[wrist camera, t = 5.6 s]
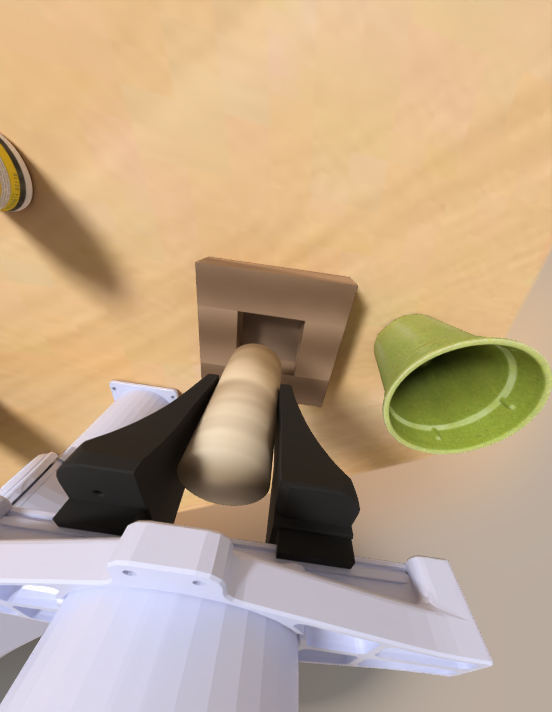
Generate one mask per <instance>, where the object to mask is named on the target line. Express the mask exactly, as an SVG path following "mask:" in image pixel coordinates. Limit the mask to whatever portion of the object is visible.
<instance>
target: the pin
mask: <svg viewBox="0 0 552 712" xmlns="http://www.w3.org/2000/svg"><path fill="white" fill-rule="evenodd" d="M281 370H282V366H281V361H280V359H279V357H278V356H277V354H276V353H275V352H274V351H273V350H271V349H270V348H268V347H266V346H264V345H261V344H253V343H252V344H245V345H242V346H240V347H239V348H237V349H236V350H235V351H234V352H233V353H232V355H231V357H230V359H229V361H228V363H227V365H226V367H225V369H224V371H223V373H222V376H221V378H220V380H219V382H218V384H217V386H216V388H215V390H214V392H213V394H212V396H211V398H210V400H209V402H208V404H207V407H206V409H205V411H204V413H203V415H202V417H201V419H200V421H199V423H198V425H197V427H196V429H195V431H194V433H193V435H192V438H191V440H190V442H189V444H188V446H187V448H186V450H185V452H184V454H183V456H182V458H181V460H180V462H179V464H178V467H177V475H178V478H179V480H180V482H181V483H182V485H183V486H184V487H185V488H186V489H187V490H189V491H190V492H191V493H193V494H194V495H196V496H198V497H200V498H202V499H204V500H207V501H209V502H213V503H217V504H221V505H230V506H238V505H247V504H251V503H254V502H257V501H258V500H260V499H262V498H263V497H264V496H265V495H266V494H267V493H268V491H269V488H270V481H271V471H272V461H273V451H274V440H275V430H276V420H277V410H278V398H279V390H280V380H281Z"/></svg>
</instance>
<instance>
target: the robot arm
mask: <svg viewBox="0 0 552 712" xmlns="http://www.w3.org/2000/svg"><path fill="white" fill-rule="evenodd" d="M218 382H219V375H216V374H208V375H206V376H205V377H204V378H203V379H201V380H200V381H199V382H198V383H196V384H195V385H194V386H193V387H191V388H190V389H189V390H188V391H186V392H185V393H184V394H182V395H181V396H179V395H178V391H177V390H175V389H170V388H163V387H156V386H149V385H143V384H136V383H129V382H122V381H115V380H113V381H111V382H110V383H109V385H110V388H111V391H112V394H113V397H114V400H115V402H114V403H113V404H112V405H111V406H110V407H109V408H108V409H107V410H106V411H105V412H104V413H103V414H102V415H101V416H100V417H99V418H98V419H97V420H96V421H95V422H94V423H93V424H92V425H91V426H90V427H89V428H88V429H87V430H86V431H85V432H84V433H83V434H82V435H81V436H80V437H79V438H78V439H77V440H76V441H75V442H74V443H73V444H72V445H71V446H70V447H69V448H68V449H67V450H65V451H64V452H63V453H61V454H60V455H59V456H58V455H57V454H56V453H54V452H49V453H48V454H41V455H38V456H37V457H35V458H34V459H33V460H32V461H31V462H30V463H28V464H27V465H26V466H25V467H24V468H23V469H21V470H20V471H19V472H18V473H17V474H16V475H15V476H14V477H12V478H11V479H10V480H9V481H8V482H7V483H6V484H5V485H3V486H2V487H1V488H0V658H1V657H2V656H4V655H5V654H7V653H9V652H11V651H12V650H14V649H16V648H18V647H20V646H22V645H24V644H26V643H28V642H30V641H32V640H34V639H36V638H38V637H40V636H42V635H43V636H42V637H41V639H40V640H39V642H38V644H37V645H36V647H35V649H34V650H33V652H32V654H31V655H30V657H29V659H28V660H27V662H26V663H25V665H24V667H23V668H22V670H21V672H20V673H19V675H18V676H17V678H16V680H15V681H14V683H13V685H12V686H11V688H10V689H9V691H8V693H7V694H6V696H5V698H4V699H3V701H2V703H1V704H0V712H298V662H307V663H319V664H331V665H332V664H333V665H344V666H356V667H368V668H380V669H391V670H401V671H410V672H420V673H427V674H435V675H442V676H449V677H452V676H456V675H460V674H464V673H467V672H471V671H475V670H479V669H483V668H486V667H490V666H493V660H492V658H491V656H490V654H489V651H488V649H487V647H486V645H485V642H484V640H483V638H482V636H481V633H480V631H479V629H478V627H477V624H476V622H475V620H474V618H473V616H472V613H471V611H470V609H469V607H468V604H467V602H466V600H465V598H464V595H463V593H462V591H461V589H460V586H459V584H458V582H457V580H456V577H455V575H454V573H453V571H452V568H451V566H450V564H449V562H448V561H447V560H446V559H440V558H433V557H427V556H412V557H410V558H409V559H408V560H407V561H406V563H399V562H392V561H385V560H378V559H370V558H364V557H357V556H354V552H353V546H352V541H351V539H353V532H352V524H353V522H354V521H355V519H356V517H357V516H358V514H359V511H360V507H359V501H358V497H357V494H356V491H355V488H354V486H353V483H352V481H351V479H350V478H349V477H348V476H347V475H346V474H345V473H344V472H343V471H342V470H341V469H340V468H339V467H338V466H337V465H336V464H335V463H334V462H333V460H332V459H331V458H330V457H329V456H328V454H327V453H326V452H325V451H324V449H323V448H322V447H321V445H320V444H319V443H318V441H317V440H316V438H315V437H314V435H313V434H312V432H311V430H310V429H309V427H308V425H307V423H306V421H305V420H304V418H303V416H302V413H301V411H300V409H299V407H298V404H297V402H296V399H295V396H294V392H293V388H292V386H291V385H287V384H280V390H279V398H278V410H277V420H276V430H275V440H274V469H273V479H272V489H271V498H270V508H269V516H268V526H267V534H266V543H261V542H254V541H247V540H240V539H233V538H229V537H227V536H225V535H224V534H222V533H221V532H217V531H214V530H210V529H204V528H197V527H190V526H183V525H176V524H174V521H175V518H176V514H177V511H178V508H179V505H180V502H181V498H182V495H183V492H184V489H185V487H184V486H183V485H182V483H181V482H180V480H179V478H178V475H177V467H178V464H179V462H180V460H181V458H182V456H183V454H184V452H185V450H186V448H187V446H188V444H189V442H190V440H191V438H192V435H193V433H194V431H195V429H196V427H197V425H198V423H199V421H200V419H201V417H202V415H203V413H204V411H205V409H206V407H207V404H208V402H209V400H210V398H211V396H212V394H213V392H214V390H215V388H216V386H217V384H218ZM57 456H58V457H57Z"/></svg>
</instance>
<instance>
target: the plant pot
mask: <svg viewBox="0 0 552 712" xmlns="http://www.w3.org/2000/svg"><path fill="white" fill-rule="evenodd" d="M374 353H375V357H376V361H377V365H378V368H379V371H380V375H381V379H382V382H383V386H384V390H385V394H384V401H383V418H384V422H385V425H386V427H387V429H388V431H389V432H390V434H391V435H392V436H393V437H394V438H395V439H396V440H397V441H398V442H400V443H401V444H403V445H405V446H407V447H409V448H411V449H414V450H417V451H421V452H425V453H431V454H456V453H462V452H469V451H473V450H476V449H480V448H484V447H486V446H489V445H492V444H495V443H497V442H499V441H502V440H503V439H505V438H507V437H509V436H511V435H513V434H514V433H516V432H517V431H519V430H520V429H521V428H523V427H524V426H526V425H527V424H528V423H529V422H530V421H532V420H533V419H534V417H535V416H536V415H538V413H539V412H540V411H541V410H542V408H543V407H544V405H545V403H546V401H547V400H548V397H549V395H550V393H551V389H552V371H551V368H550V366H549V363H548V362H547V360H546V359H545V358H544V357H543V356H542V355H541V354H540V353H539V352H538V351H536V350H535V349H533V348H531V347H529V346H528V345H525V344H523V343H520V342H517V341H513V340H509V339H504V338H487V337H481V336H475V335H472V334H470V333H467V332H465V331H463V330H460V329H458V328H456V327H453V326H451V325H449V324H446V323H444V322H441V321H439V320H437V319H434V318H432V317H429V316H426V315H422V314H412V315H406V316H402V317H400V318H398V319H396V320H394V321H393V322H392V323H391V324H390V325H388V326H387V327H386V328H385V329H383V330H382V331H381V332H380V333H379V335H378V337H377V339H376V341H375V345H374Z"/></svg>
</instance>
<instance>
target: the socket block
mask: <svg viewBox="0 0 552 712" xmlns="http://www.w3.org/2000/svg"><path fill="white" fill-rule="evenodd" d="M195 267H196V285H197V304H198V322H199V340H200V358H201V377H202V379H203V378H204V377H205V376H206V375H208V374H216V375H219V380H220V378H221V376H222V373H223V371H224V369H225V367H226V365H227V363H228V361H229V359H230V357H231V355H232V353H233V352H234V351H235V350H236V349H237V348H239V347H240V346H242V345H245V344H252V343H253V344H261V345H264V346H266V347H268V348H270V349H271V350H273V351H274V352H275V353H276V354H277V356H278V357H279V359H280V361H281V366H282V370H281V380H280V384H287V385H291V386H292V388H293V392H294V396H295V399H296V402H297V404H304V405H311V406H317V407H321V406H322V403H323V400H324V396H325V393H326V390H327V386H328V383H329V380H330V377H331V373H332V370H333V367H334V363H335V360H336V357H337V353H338V350H339V347H340V344H341V340H342V337H343V334H344V330H345V327H346V324H347V321H348V317H349V314H350V311H351V307H352V304H353V301H354V298H355V294H356V291H357V288H358V285H357V284H356V283H355V282H354V281H353V280H352V279H351V278H350V277H345V276H338V275H331V274H325V273H318V272H311V271H304V270H297V269H290V268H283V267H276V266H269V265H262V264H256V263H249V262H242V261H235V260H228V259H221V258H214V257H207V258H204V259H202V260H199V261H197V262H195Z"/></svg>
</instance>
